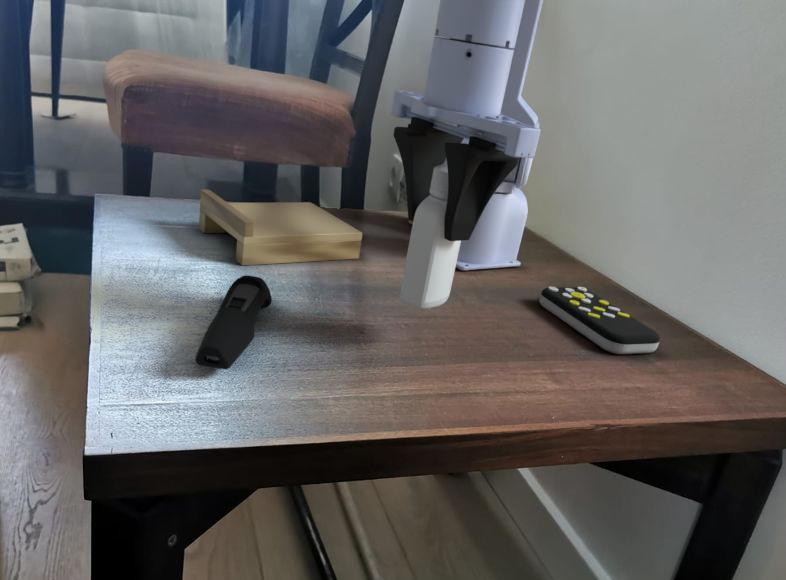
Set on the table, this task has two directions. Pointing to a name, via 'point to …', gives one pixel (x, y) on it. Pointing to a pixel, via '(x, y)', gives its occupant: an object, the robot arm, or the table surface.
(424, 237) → the eye dropper bottle
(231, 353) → the electric trimmer
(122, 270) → the table surface
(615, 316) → the remote control
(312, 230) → the wooden stand
